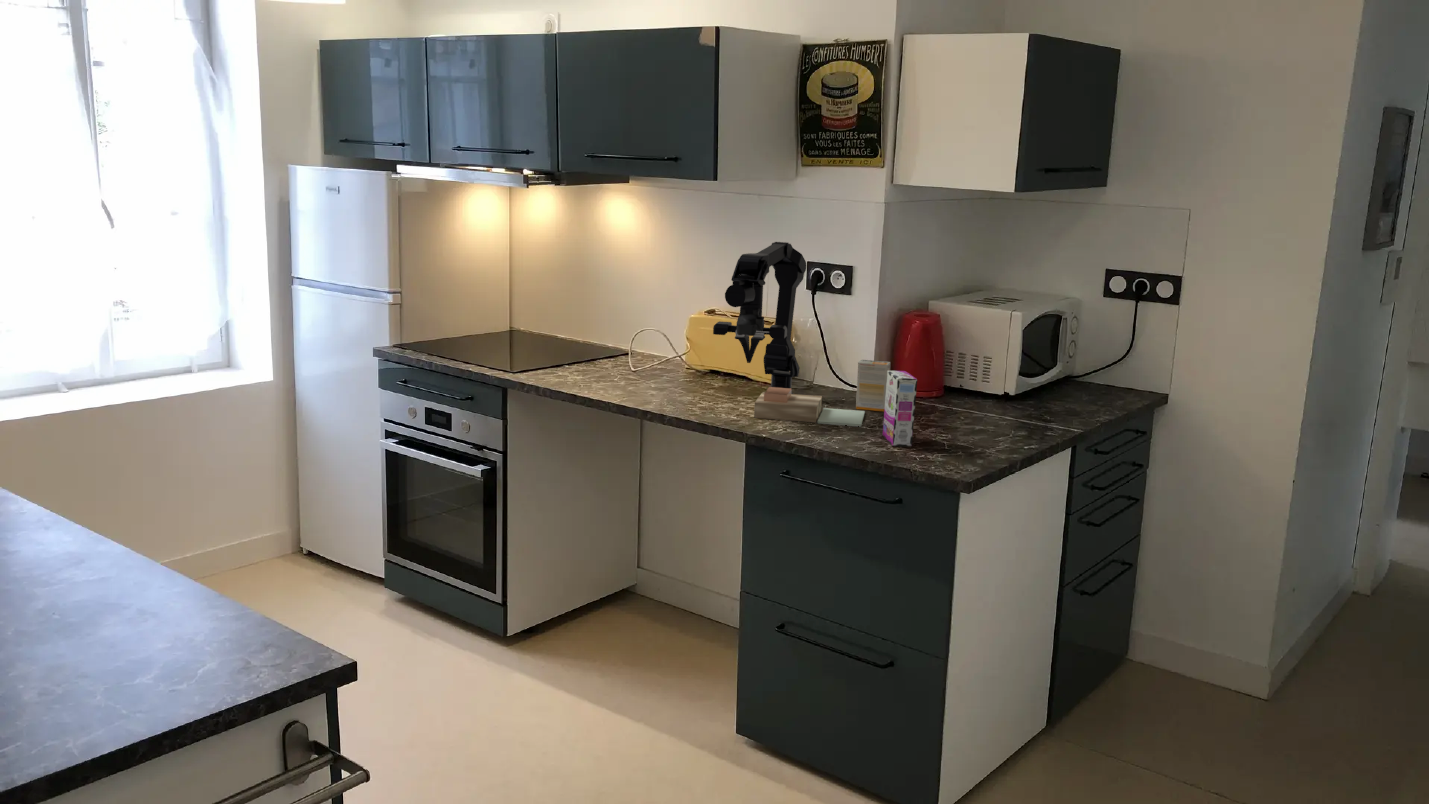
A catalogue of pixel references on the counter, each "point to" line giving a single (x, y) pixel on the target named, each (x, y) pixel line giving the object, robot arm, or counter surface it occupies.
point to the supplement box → (871, 385)
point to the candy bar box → (899, 408)
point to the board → (790, 408)
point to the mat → (841, 417)
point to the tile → (777, 394)
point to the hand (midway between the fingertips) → (748, 362)
